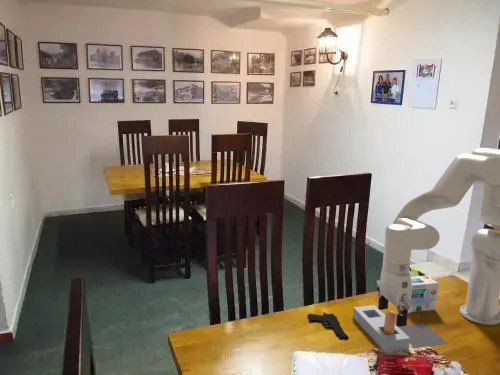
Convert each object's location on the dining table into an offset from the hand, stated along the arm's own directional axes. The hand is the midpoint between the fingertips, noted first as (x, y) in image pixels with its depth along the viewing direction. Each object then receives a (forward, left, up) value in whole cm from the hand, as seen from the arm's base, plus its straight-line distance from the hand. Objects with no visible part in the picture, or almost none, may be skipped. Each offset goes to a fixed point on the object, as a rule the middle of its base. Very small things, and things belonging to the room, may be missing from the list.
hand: (391, 317), depth 120 cm
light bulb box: (-22, -17, -9) cm, 29 cm away
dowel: (+1, 0, -8) cm, 8 cm away
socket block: (+1, -5, -8) cm, 10 cm away
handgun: (+16, -12, -9) cm, 22 cm away
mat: (-11, -1, -8) cm, 14 cm away
